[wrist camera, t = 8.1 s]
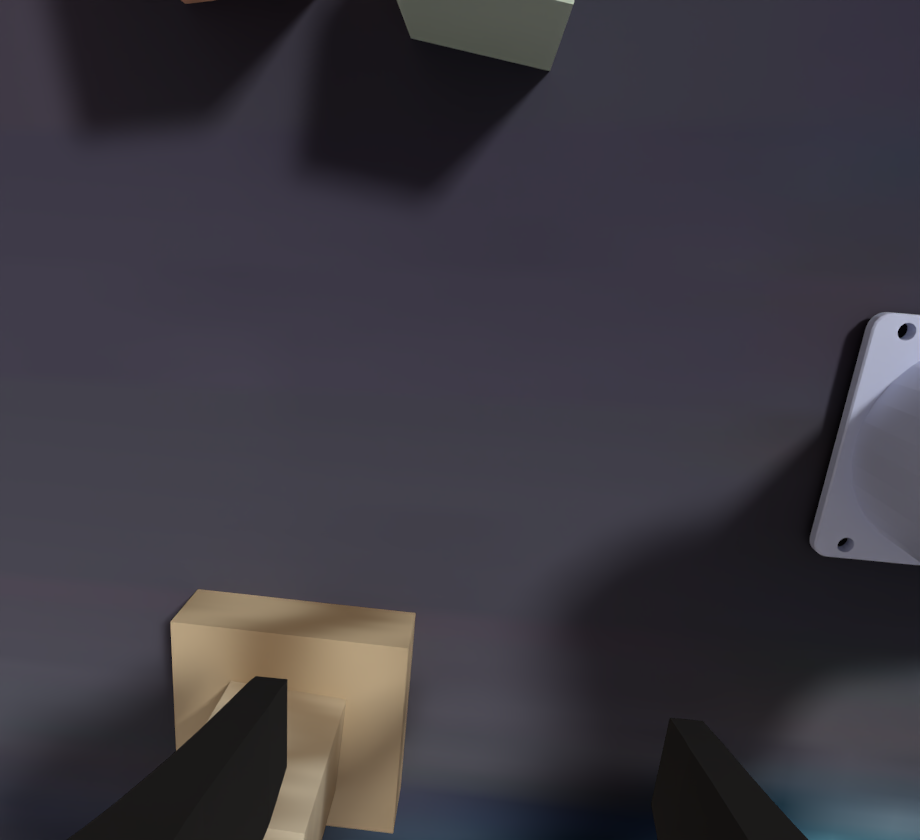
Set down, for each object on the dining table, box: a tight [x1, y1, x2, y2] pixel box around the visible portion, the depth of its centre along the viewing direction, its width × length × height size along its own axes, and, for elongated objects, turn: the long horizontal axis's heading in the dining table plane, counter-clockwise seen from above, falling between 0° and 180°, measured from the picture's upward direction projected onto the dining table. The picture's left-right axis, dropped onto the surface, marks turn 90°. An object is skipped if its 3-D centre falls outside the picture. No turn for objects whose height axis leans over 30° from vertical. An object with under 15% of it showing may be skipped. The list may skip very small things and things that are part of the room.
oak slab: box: [170, 589, 416, 833], centre depth 23 cm, size 8×8×2 cm
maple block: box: [207, 681, 346, 840], centre depth 19 cm, size 4×4×5 cm
